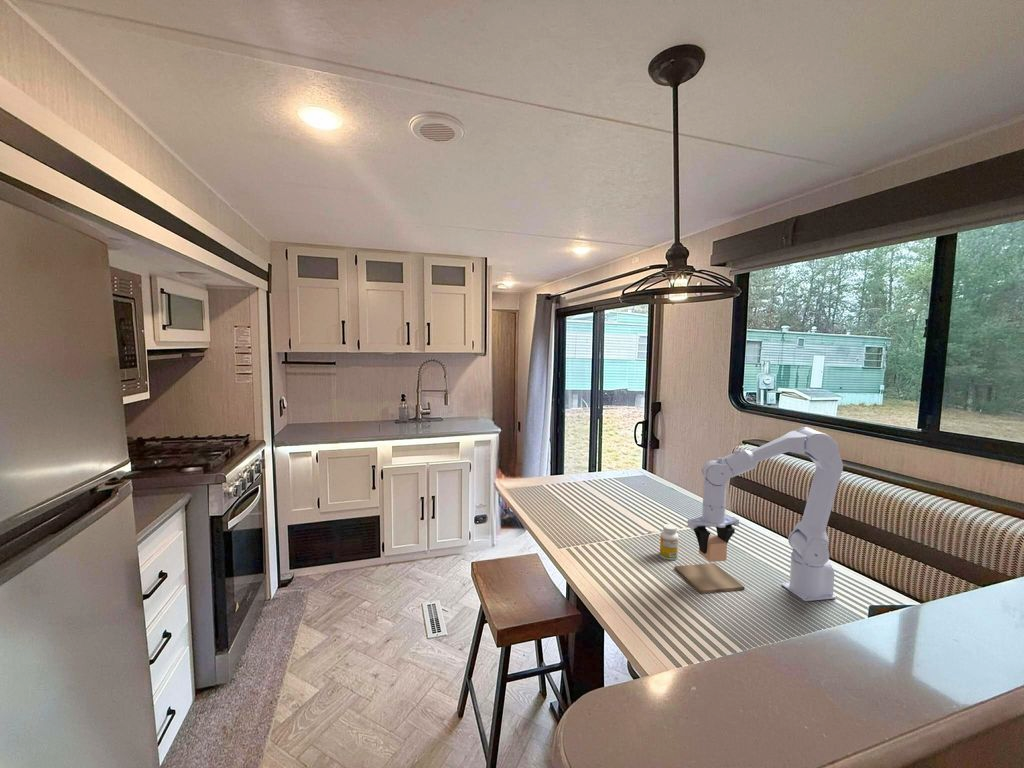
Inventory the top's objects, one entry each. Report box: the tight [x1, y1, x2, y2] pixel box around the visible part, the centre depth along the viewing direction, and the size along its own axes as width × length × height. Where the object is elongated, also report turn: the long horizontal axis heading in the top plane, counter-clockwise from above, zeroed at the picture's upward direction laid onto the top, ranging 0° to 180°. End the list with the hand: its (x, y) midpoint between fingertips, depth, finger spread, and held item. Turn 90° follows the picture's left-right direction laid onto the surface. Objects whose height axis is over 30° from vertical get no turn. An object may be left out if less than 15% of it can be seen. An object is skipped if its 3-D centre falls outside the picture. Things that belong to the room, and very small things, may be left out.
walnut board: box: [673, 562, 746, 594], centre depth 118 cm, size 13×13×1 cm
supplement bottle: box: [659, 523, 680, 561], centre depth 131 cm, size 5×5×10 cm
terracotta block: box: [698, 534, 728, 563], centre depth 117 cm, size 5×5×5 cm
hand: (712, 551), depth 117 cm, fingers closed on terracotta block, 5 cm apart
